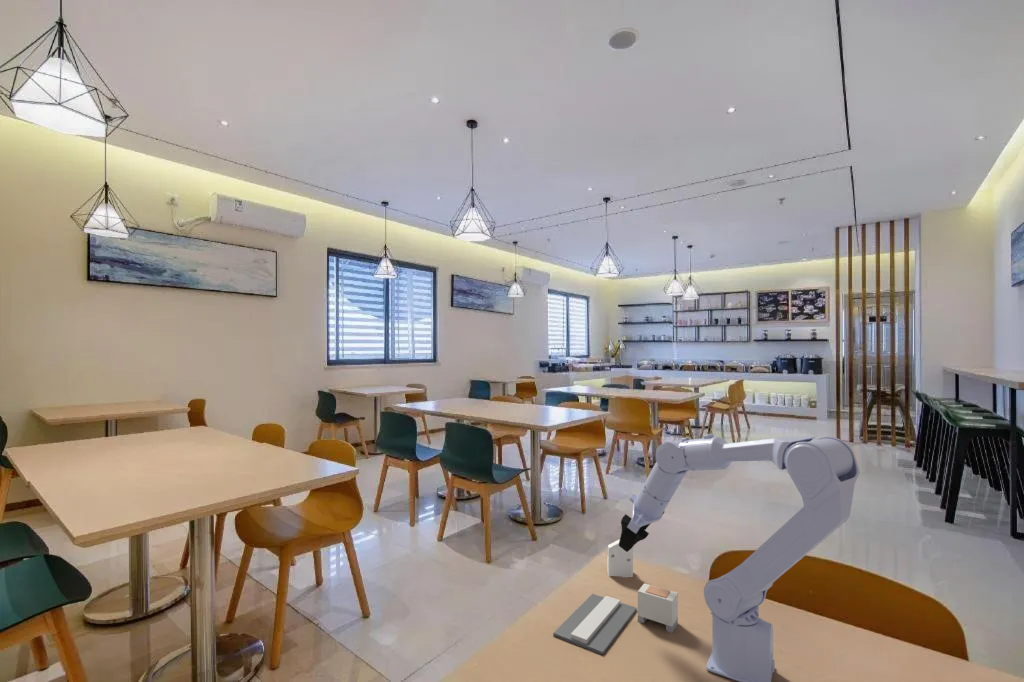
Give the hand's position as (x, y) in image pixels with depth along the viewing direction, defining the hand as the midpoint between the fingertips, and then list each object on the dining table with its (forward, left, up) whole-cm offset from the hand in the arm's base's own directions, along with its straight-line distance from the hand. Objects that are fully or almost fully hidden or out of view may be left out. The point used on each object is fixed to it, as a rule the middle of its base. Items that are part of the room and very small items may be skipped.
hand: (630, 539), depth 99 cm
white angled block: (+8, -14, -15) cm, 21 cm away
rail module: (-6, +2, -14) cm, 16 cm away
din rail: (+4, +9, -14) cm, 17 cm away
